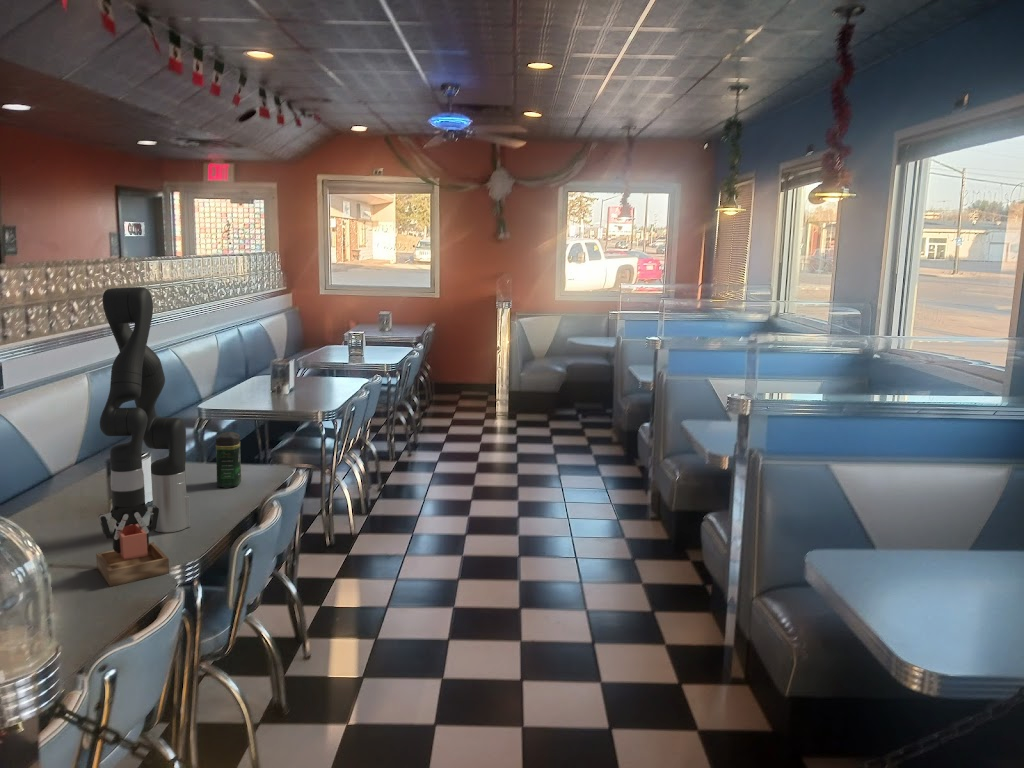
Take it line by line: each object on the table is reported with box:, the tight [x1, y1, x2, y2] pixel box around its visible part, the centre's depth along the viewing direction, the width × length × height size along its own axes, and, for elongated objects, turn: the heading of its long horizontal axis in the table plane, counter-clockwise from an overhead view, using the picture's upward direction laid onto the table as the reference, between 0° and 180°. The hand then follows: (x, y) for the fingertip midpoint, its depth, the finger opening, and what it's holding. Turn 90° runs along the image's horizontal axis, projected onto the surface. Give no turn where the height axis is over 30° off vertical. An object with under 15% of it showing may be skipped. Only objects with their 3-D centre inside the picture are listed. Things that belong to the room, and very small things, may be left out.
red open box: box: [119, 524, 148, 560], centre depth 198 cm, size 9×6×6 cm, turn 39°
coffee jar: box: [215, 431, 242, 489], centre depth 272 cm, size 10×8×19 cm
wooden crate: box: [95, 541, 170, 587], centre depth 199 cm, size 14×14×4 cm
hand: (131, 549), depth 198 cm, fingers closed on red open box, 5 cm apart
